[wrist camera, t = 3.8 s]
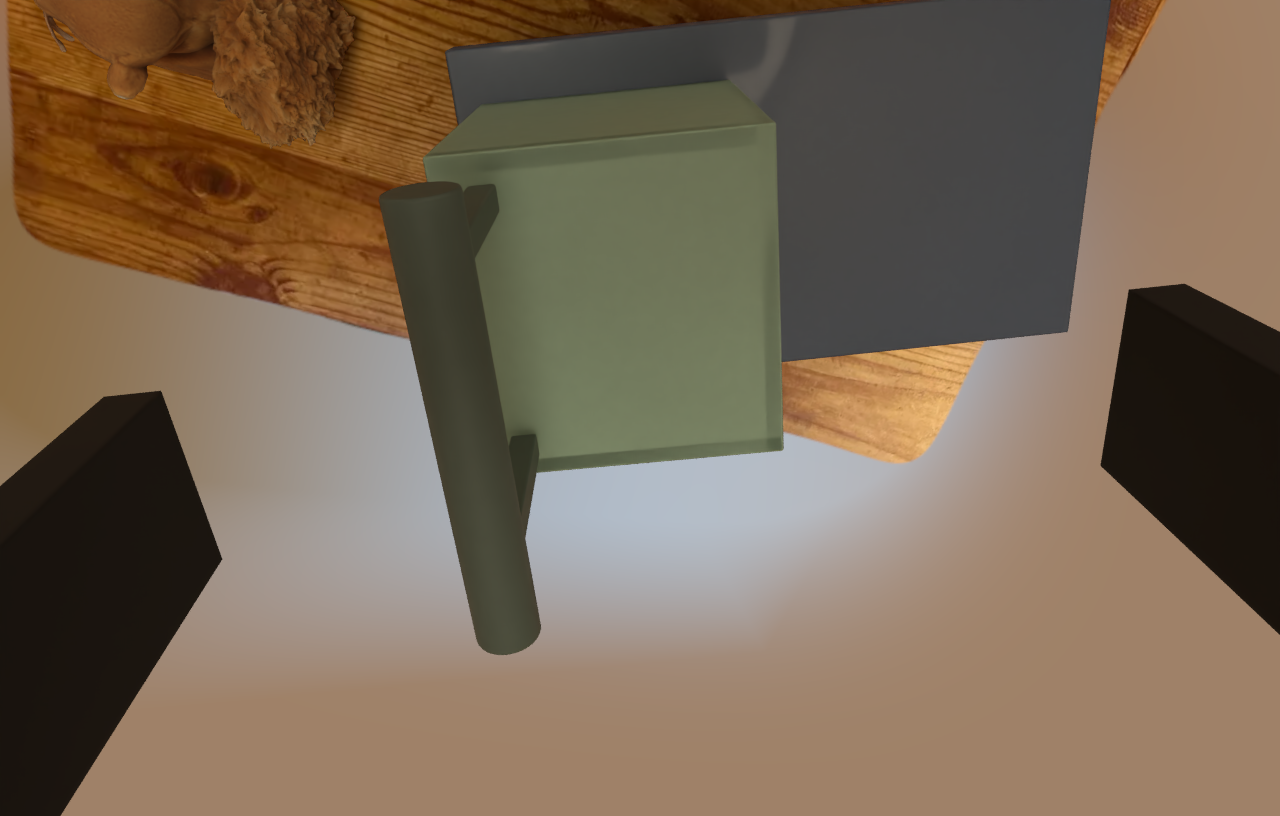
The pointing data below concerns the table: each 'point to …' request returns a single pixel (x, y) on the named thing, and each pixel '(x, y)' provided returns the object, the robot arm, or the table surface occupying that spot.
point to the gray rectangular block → (880, 152)
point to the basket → (587, 305)
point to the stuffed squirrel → (223, 52)
